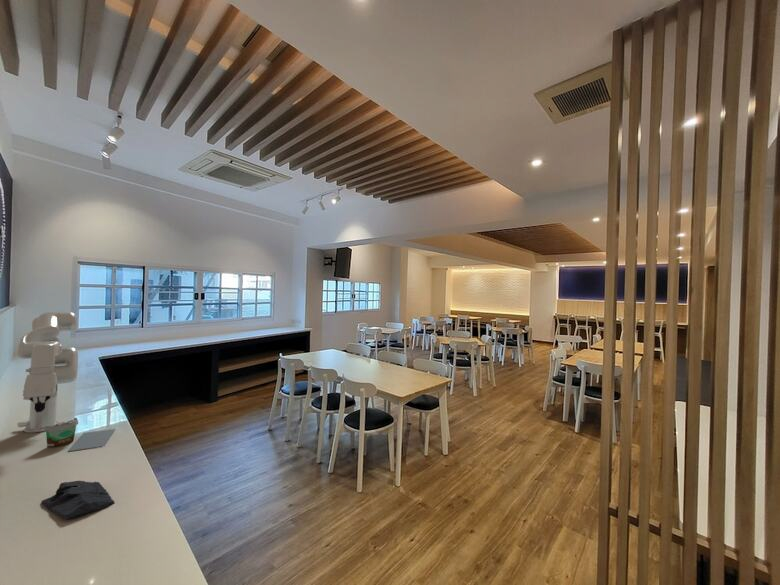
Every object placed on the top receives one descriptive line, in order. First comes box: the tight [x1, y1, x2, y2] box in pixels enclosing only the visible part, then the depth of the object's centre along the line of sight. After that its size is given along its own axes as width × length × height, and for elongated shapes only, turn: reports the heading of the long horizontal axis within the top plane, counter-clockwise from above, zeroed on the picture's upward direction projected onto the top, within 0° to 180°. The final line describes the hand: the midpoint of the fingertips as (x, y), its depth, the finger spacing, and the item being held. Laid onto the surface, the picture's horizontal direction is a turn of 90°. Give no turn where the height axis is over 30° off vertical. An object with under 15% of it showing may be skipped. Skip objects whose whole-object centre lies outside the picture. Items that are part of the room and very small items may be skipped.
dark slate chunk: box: [41, 480, 116, 520], centre depth 111 cm, size 15×22×5 cm
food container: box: [43, 417, 79, 449], centre depth 152 cm, size 12×6×10 cm, turn 168°
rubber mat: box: [67, 428, 116, 453], centre depth 157 cm, size 12×22×1 cm, turn 30°
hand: (39, 411), depth 148 cm, fingers closed
